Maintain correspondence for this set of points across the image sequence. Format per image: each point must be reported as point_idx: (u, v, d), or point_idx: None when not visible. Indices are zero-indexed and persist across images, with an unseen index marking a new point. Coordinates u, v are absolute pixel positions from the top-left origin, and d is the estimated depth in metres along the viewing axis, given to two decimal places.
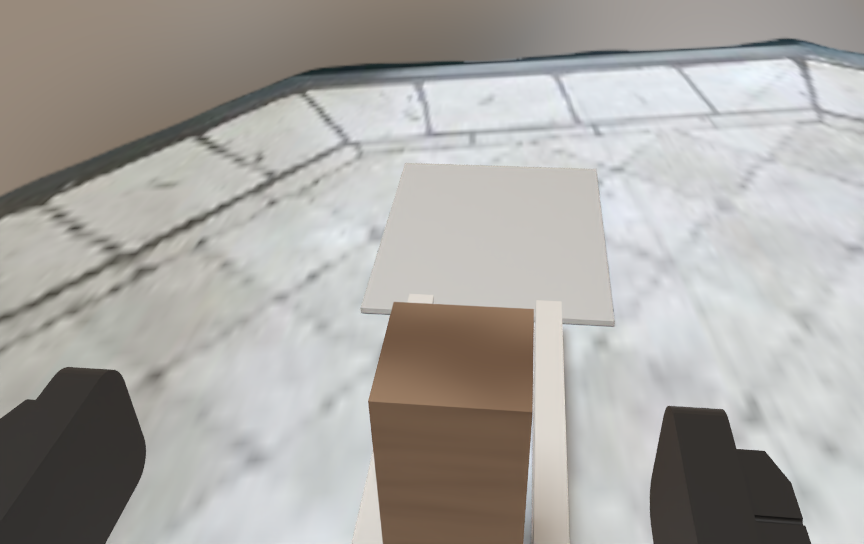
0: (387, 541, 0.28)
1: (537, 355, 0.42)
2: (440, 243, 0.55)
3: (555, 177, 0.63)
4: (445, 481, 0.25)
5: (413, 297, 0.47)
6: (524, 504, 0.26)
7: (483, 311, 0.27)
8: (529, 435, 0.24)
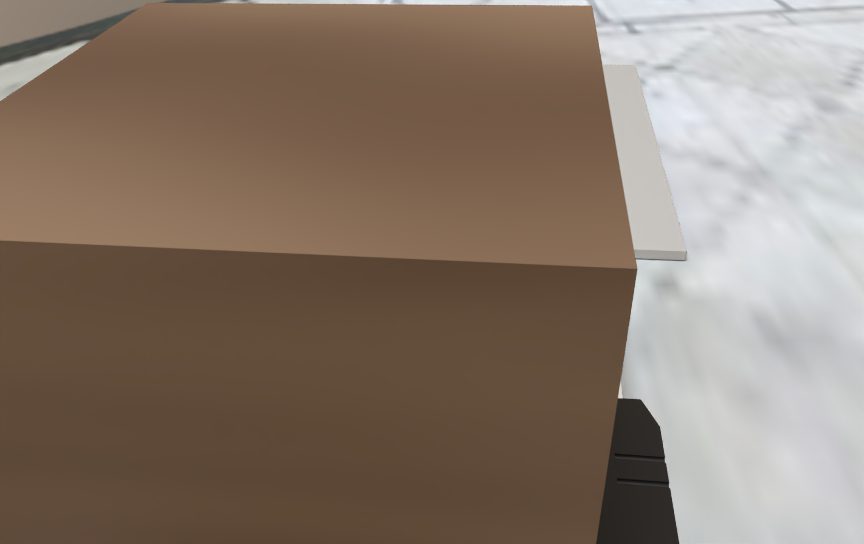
0: None
1: None
2: None
3: None
4: None
5: None
6: None
7: (425, 11, 0.08)
8: (610, 405, 0.05)
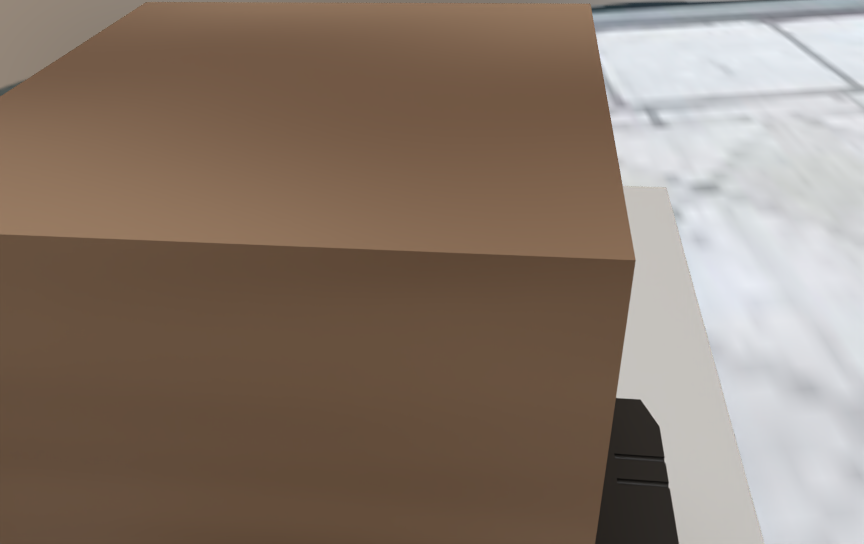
0: None
1: None
2: None
3: None
4: None
5: None
6: None
7: (423, 9, 0.08)
8: (609, 398, 0.05)
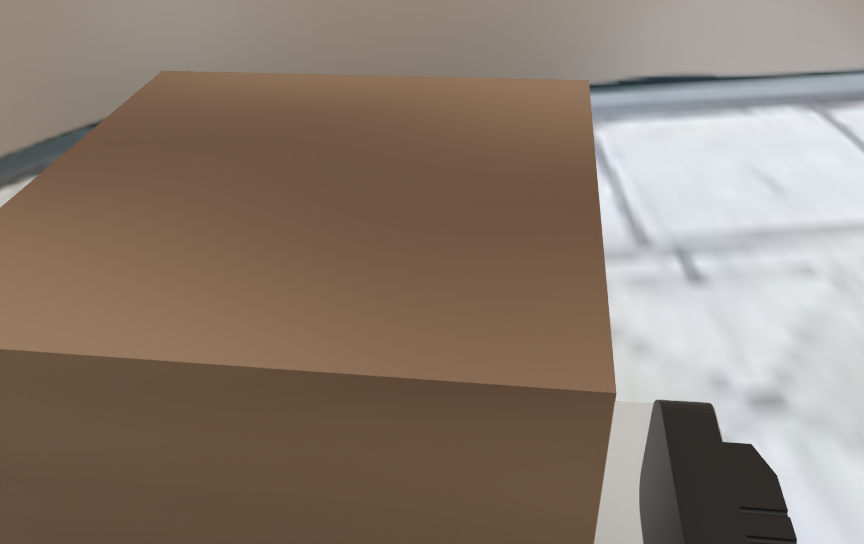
0: None
1: None
2: None
3: None
4: None
5: None
6: None
7: (428, 85, 0.09)
8: (593, 506, 0.05)
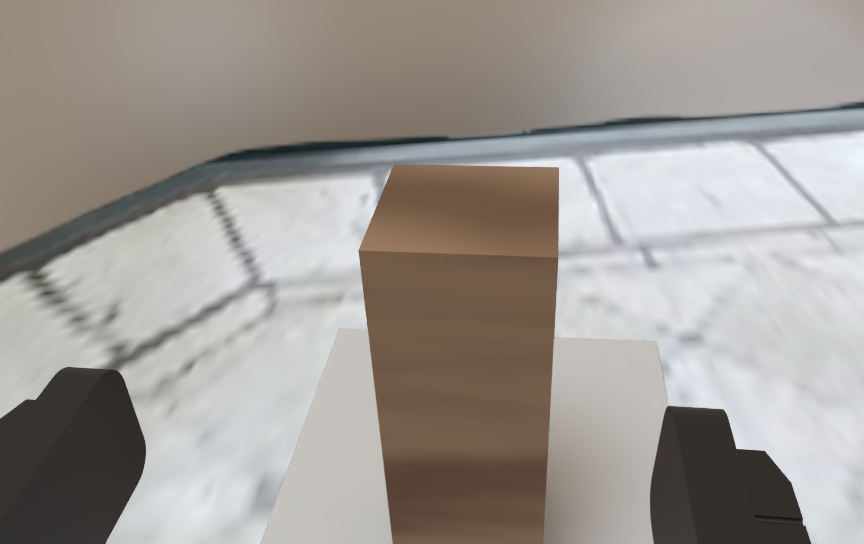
0: (387, 446, 0.23)
1: None
2: (378, 527, 0.29)
3: (588, 360, 0.37)
4: (454, 360, 0.21)
5: None
6: (549, 390, 0.21)
7: (499, 170, 0.23)
8: (554, 291, 0.19)
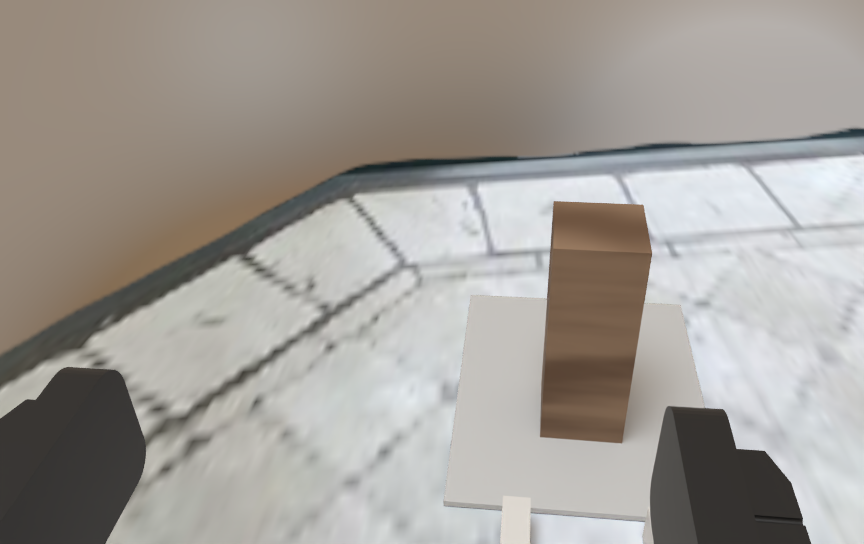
0: (549, 351, 0.44)
1: None
2: (522, 408, 0.50)
3: None
4: (593, 304, 0.42)
5: (508, 501, 0.41)
6: (640, 319, 0.42)
7: (611, 206, 0.43)
8: (648, 269, 0.40)
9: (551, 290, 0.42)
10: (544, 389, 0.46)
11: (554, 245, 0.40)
